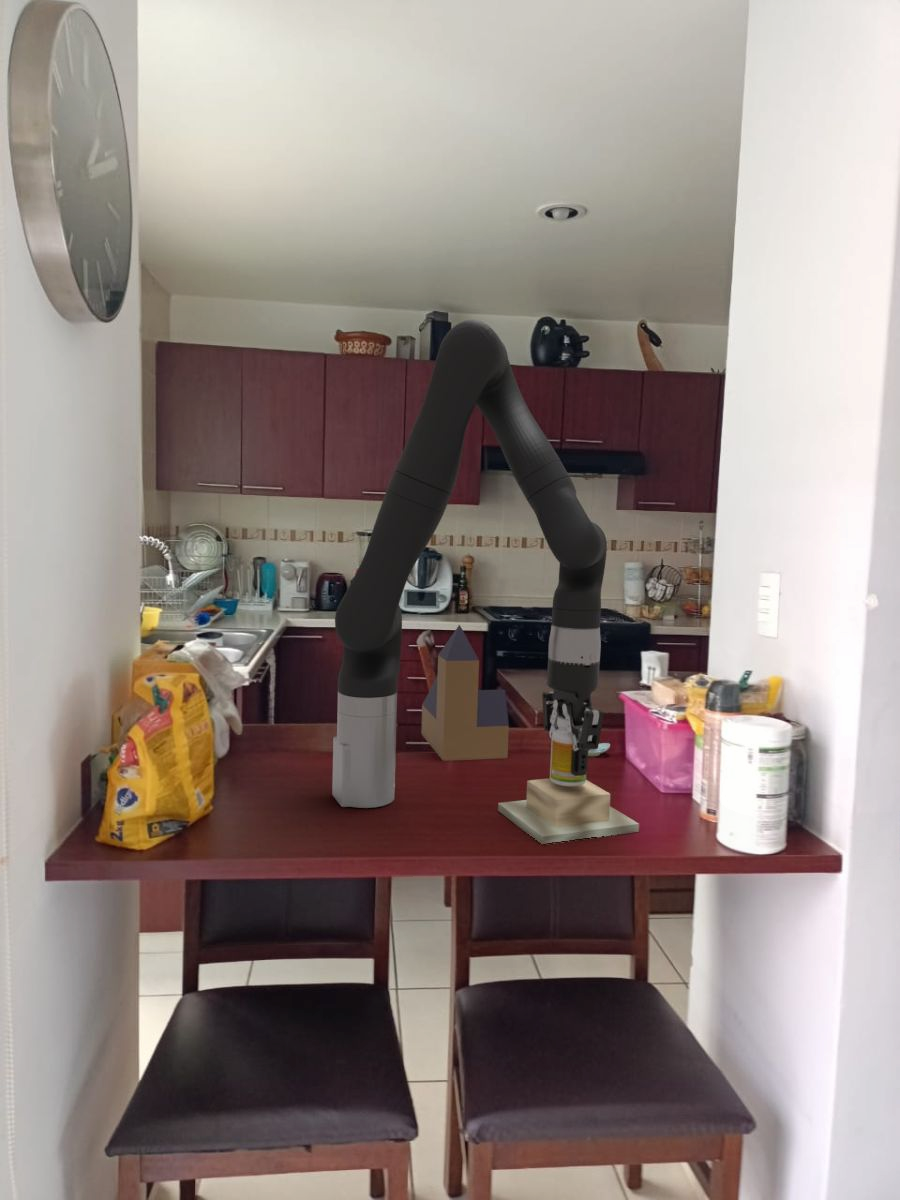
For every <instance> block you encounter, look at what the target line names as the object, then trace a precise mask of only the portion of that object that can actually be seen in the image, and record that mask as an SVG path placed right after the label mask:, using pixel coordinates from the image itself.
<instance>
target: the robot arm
mask: <svg viewBox="0 0 900 1200" xmlns="http://www.w3.org/2000/svg"><path fill="white" fill-rule="evenodd" d="M514 374H515V373H514V372H513V369H512V366H511V364H510V360H509V356H508V352H507V348H506V346H505V344H504V343H503V342H502V340H501V338H500V336H499V335H498V334H497V333H496V331H495V330H494V329H493V328H492V327H491V326H490V325H488V324H487V323H485V322H484V321H482V320H479V319H466V320H463V321H460V322H459V323H457V324H455V325H453V327H451V328H450V330H449V331H447V333H446V334H445V335H444V337H443V339H442V341H441V343H440V346H439V349H438V351H437V355H436V359H435V363H434V367H433V370H432V374H431V377H430V381H429V383H428V387H427V391H426V395H425V397H424V400H423V403H422V406H421V408H420V410H419V413H418V415H417V417H416V420H415V422H414V424H413V427H412V429H411V431H410V433H409V435H408V438H407V440H406V443H405V445H404V448H403V450H402V452H401V456H400V458H399V459H398V462H397V464H396V466H395V468H394V471H393V473H392V476H391V479H390V481H389V483H388V486H387V489H386V491H385V494H384V496H383V499H382V503H381V505H380V508H379V511H378V514H377V517H376V519H375V522H374V525H373V529H372V532H371V534H370V537H369V541H368V544H367V547H366V551H365V554H364V556H363V559H362V560H361V563H360V565H359V567H358V569H357V570H356V572H355V574H354V576H353V579H352V580H351V582H350V585H349V586H348V588H347V590H346V591H345V593H344V595H343V597H342V599H341V600H340V603H339V605H338V606H337V609H336V612H335V616H334V626H335V632H336V635H337V637H338V639H339V641H340V642H341V643H342V644H343V656H342V660H341V661H342V662H341V667H340V670H339V673H338V676H337V678H338V679H337V715H336V716H337V719H336V720H337V721H336V722H337V723H336V724H337V725H336V727H337V728H336V729H337V730H336V736H333V739H332V740H333V741H332V744H333V746H332V783H331V784H332V786H331V787H332V788H331V789H332V793H331V794H332V796H333V798H334V799H335V800H336V802H337V803H338V804H339V805H340V807H341V808H347V807H349V808H351V807H352V808H359V809H361V808H362V809H368V808H369V809H371V808H372V809H373V808H378V807H384V806H387V805H389V804H391V803H393V802H394V800H395V788H396V754H397V753H396V750H397V749H396V745H397V744H396V743H397V714H398V713H397V712H398V711H397V710H398V681H399V675H400V671H401V658H402V657H401V656H402V655H401V654H402V639H403V638H402V636H403V635H402V634H403V615H402V609H401V606H400V601H401V598H402V595H403V592H404V589H405V586H406V584H407V581H408V579H409V576H410V574H411V573H412V570H413V568H414V566H415V565H416V563H417V561H418V560H419V558H420V557H421V555H422V554H423V552H424V551H425V549H426V548H427V545H428V544H429V543H430V541H431V539H432V537H433V535H434V533H435V532H436V529H437V528H438V527H439V524H440V522H441V520H442V518H443V516H444V513H445V511H446V509H447V506H448V504H449V502H450V498H451V497H452V494H453V492H454V490H455V489H454V488H455V486H456V483H457V479H458V475H459V470H460V465H461V462H462V461H461V460H462V454H463V449H464V442H465V437H466V436H465V435H466V431H467V427H468V425H469V421H470V419H471V416H472V414H473V411H474V410H475V408H476V407H477V409H479V411H480V412H481V413H482V415H483V416H484V418H485V420H487V421H486V422H487V423H488V425H489V426H490V428H491V429H492V431H493V434H494V435H495V438H496V440H497V441H498V444H499V446H500V447H499V448H500V449H501V452H502V454H503V456H504V458H505V460H506V461H505V462H506V463H507V464H508V465H507V466H508V467H509V470H510V472H511V473H512V476H513V478H514V479H515V481H516V484H517V485H518V487H519V488H520V491H521V492H522V494H523V496H524V497H525V500H526V501H527V503H528V505H529V506H530V508H531V509H532V510H533V512H534V515H535V516H536V518H537V519H536V520H537V521H538V525H539V527H540V530H541V531H542V534H543V536H544V539H545V541H546V543H547V545H548V547H549V549H550V551H551V553H552V555H553V557H555V559H556V560H557V562H558V563H559V568H558V569H559V570H558V583H557V586H556V588H555V590H554V594H553V597H552V608H551V609H552V611H551V628H550V634H549V639H548V656H547V657H548V659H547V660H548V661H547V678H546V679H547V680H546V685H547V686H548V687H549V688H550V689H551V690H553V691H543V692H542V713H543V714H542V715H543V730H544V732H548V733H549V735H548V736H549V738H550V739H552V734H553V732H554V731H555V730H557V729H559V727H558V726H557V718H558V716H561V717H563V718H565V719H566V726H567V732H568V734H569V735H570V736H571V739H572V746H573V750H572V764H571V773H572V774H573V775H574V776H582V775H585V774H586V775H587V773H586V772H587V771H588V759H589V756H588V751H589V750H591V749H597V748H598V745H599V744H600V739H601V734H602V727H603V723H604V722H603V721H604V717H605V713H604V711H603V710H601V709H599V710H597V709H595V708H594V707H593V704H592V698H591V697H592V696H591V695H592V693H593V692H595V691H597V690H598V688H599V680H600V664H601V648H602V647H601V646H602V645H601V643H602V641H601V628H600V627H601V612H602V611H601V610H602V597H601V596H602V586H603V581H604V574H605V570H606V561H607V553H608V550H607V549H608V548H607V547H608V543H607V538H606V534H605V533H604V531H603V529H602V528H601V526H599V525H598V524H596V523H595V522H593V521H592V520H591V519H590V518H589V516H588V514H587V513H586V511H585V509H584V507H583V505H582V504H581V502H580V500H579V498H578V497H577V490H576V487H575V484H574V483H573V481H572V478H571V477H570V474H569V473H568V472H567V469H566V468H565V466H564V464H563V463H562V461H561V458H560V457H559V456H558V454H557V453H556V450H555V449H554V447H553V446H552V444H551V442H550V441H549V439H548V437H547V436H546V434H545V433H544V432H543V430H542V429H541V427H540V425H539V424H538V422H537V421H536V419H535V417H534V416H533V414H532V413H531V411H530V409H529V407H528V404H527V403H526V401H525V399H524V397H523V394H522V393H521V390H520V388H519V386H518V385H519V384H518V382H517V380H516V377H515V375H514ZM581 725H583V726H582V728H578V729H576V728H575V727H574V726H581ZM578 734H581V738H580V742H579V739H578ZM590 735H593V736H592V741H591V740H590Z"/></svg>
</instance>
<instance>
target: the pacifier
mask: <svg viewBox="0 0 900 1200" xmlns="http://www.w3.org/2000/svg"><path fill="white" fill-rule="evenodd" d="M592 736H593V735H590V740H591V741H592ZM610 747H611V744H610V743H609V742H602V743H600V742H599V745H598V748H597V749H591V750H589V751H588V757H597V756H598V757H599V756H600V754H603V753H605V752H606V751H607V752H608V750H609V749H610Z"/></svg>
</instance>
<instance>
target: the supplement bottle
mask: <svg viewBox="0 0 900 1200" xmlns="http://www.w3.org/2000/svg"><path fill="white" fill-rule="evenodd" d="M557 726H558V727H559V729H557V730H555V731H554V732H553V734H552V738H551V745H550V763H549V764H550V766H549V778H550V780H551V781H552V782H554V783H556V784H558V785H562V786H580V785H583V784H585V782H586V780H587V772H586V774H585V775H582V776H574V775H573V774H572V773H571V764H572V750H573V746H572V739H571V736H570V735H569V734H568V732H567V726H566V719H565V718H563V717H561V716H558V718H557ZM582 726H583V725H581V726H574V727H575V728H576V729H578V728H582ZM580 738H581V734H578V739H579V742H580Z"/></svg>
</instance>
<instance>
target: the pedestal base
mask: <svg viewBox="0 0 900 1200" xmlns="http://www.w3.org/2000/svg"><path fill="white" fill-rule="evenodd" d="M497 805H498V807H497V811H498V812H499V813H500V814H502V815H503V816H504V817H505V818H506V819H508V820H510V821H511V822H512V823H513V824H514V825H516V827H518V828H519V829H521V831H523V832H525V833H526V834H527V835H528V834H529V835H528V836H530V837H531V836H532V837H533V838H535V839H534V840H535V841H536V840H537V841H538V842H540V843H541V844H546V843H552V842H561V841H568V842H570V841H569V840H575V839H583V838H590V839H592V838H591V837H597V838H603V837H602V836H604V837H610V836H611V835H612V836H618V834H619V835H625V834H633V833H639V830H640V823H639V822H637V821H635V820H634V819H632V818H630V817H629V816H627V815H626V814H624V813H622V812H621V811H618V810H617V809H615V808H614V807H612V806H611V792H608V791H606V790H604V789H603V788H601V787H599V786H598V785H597V784H594V783H592V782H591V781H589V780H588V779H586V782H585V784H583V785H580V786H562V785H558V784H556V783H554V782H552V781H551V780H550V777H549V778H541V779H540V778H539V779H538V778H537V779H530V780H527V781H526V799H523V800H514V801H504V802H498V804H497ZM612 836H611V837H612ZM532 837H531V838H532ZM533 838H532V839H533ZM583 840H584V839H583ZM537 841H536V842H537ZM575 841H576V840H575ZM538 842H537V843H538ZM540 843H539V844H540ZM561 843H562V842H561ZM541 844H540V845H541ZM546 845H547V844H546Z"/></svg>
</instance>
